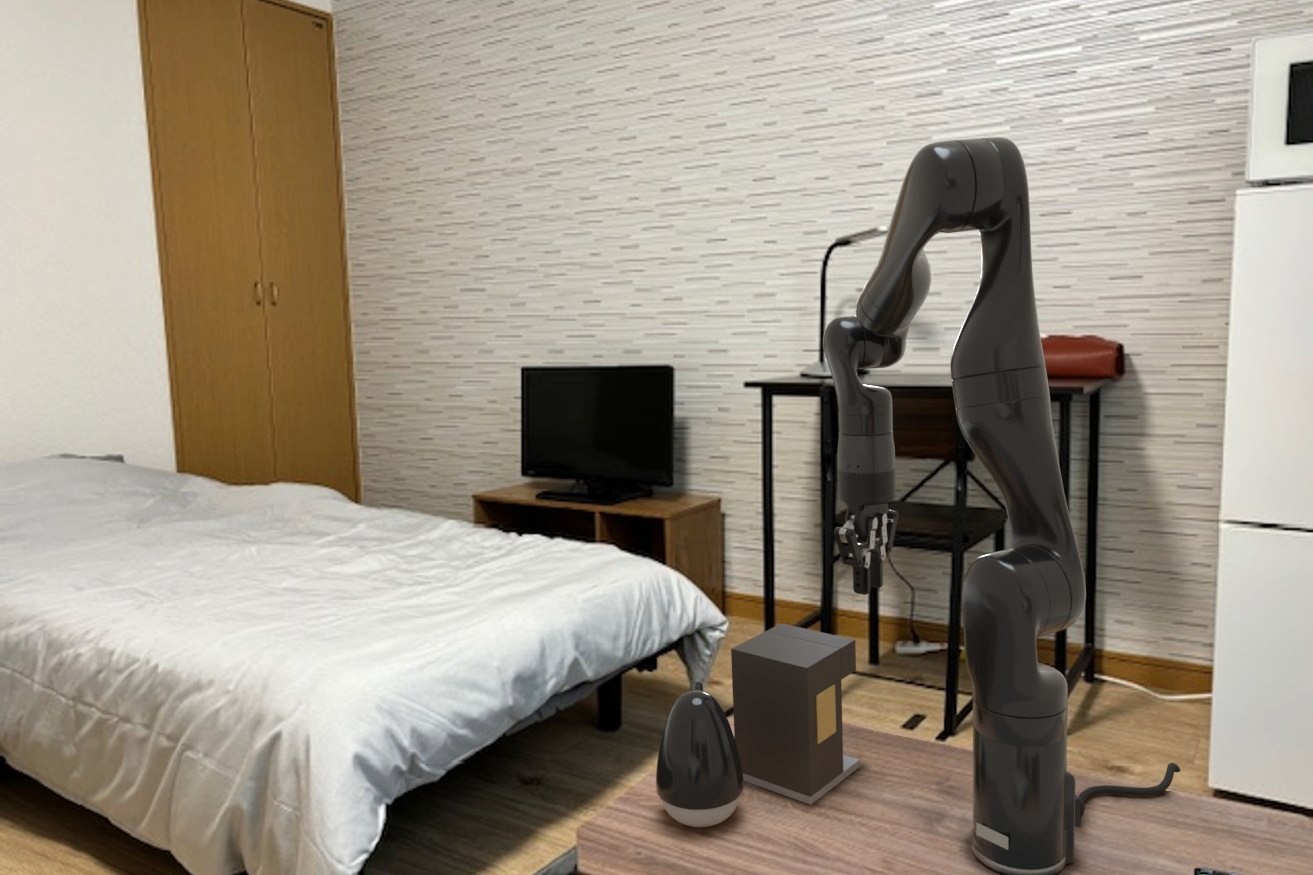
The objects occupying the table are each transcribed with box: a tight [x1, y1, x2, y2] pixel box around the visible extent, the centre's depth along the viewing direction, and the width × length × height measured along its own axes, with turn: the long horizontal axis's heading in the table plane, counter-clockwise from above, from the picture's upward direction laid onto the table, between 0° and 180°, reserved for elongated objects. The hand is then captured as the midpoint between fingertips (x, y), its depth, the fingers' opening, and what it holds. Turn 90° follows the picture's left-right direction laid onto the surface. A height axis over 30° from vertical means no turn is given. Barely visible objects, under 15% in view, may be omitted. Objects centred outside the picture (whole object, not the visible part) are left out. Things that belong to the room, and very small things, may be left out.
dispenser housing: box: [730, 623, 861, 805], centre depth 123 cm, size 12×11×17 cm
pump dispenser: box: [655, 681, 745, 828], centre depth 115 cm, size 10×10×15 cm
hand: (868, 589), depth 135 cm, fingers open, 3 cm apart
